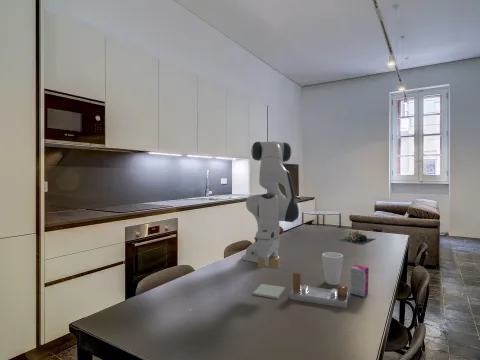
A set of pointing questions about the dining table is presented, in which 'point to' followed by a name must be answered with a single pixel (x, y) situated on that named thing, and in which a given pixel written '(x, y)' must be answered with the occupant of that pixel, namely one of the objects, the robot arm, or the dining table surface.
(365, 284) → the supplement box
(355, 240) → the plated dish
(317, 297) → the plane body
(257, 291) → the sage mat
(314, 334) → the dining table surface
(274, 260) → the tan upright box
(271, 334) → the dining table surface
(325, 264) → the foam cup
